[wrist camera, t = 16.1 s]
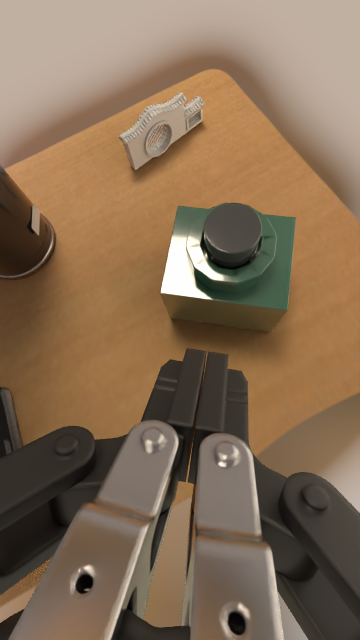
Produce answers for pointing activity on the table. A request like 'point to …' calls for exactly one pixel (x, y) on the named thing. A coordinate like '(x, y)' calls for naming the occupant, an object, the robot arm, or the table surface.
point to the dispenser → (228, 275)
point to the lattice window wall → (175, 126)
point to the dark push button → (232, 234)
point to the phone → (8, 424)
